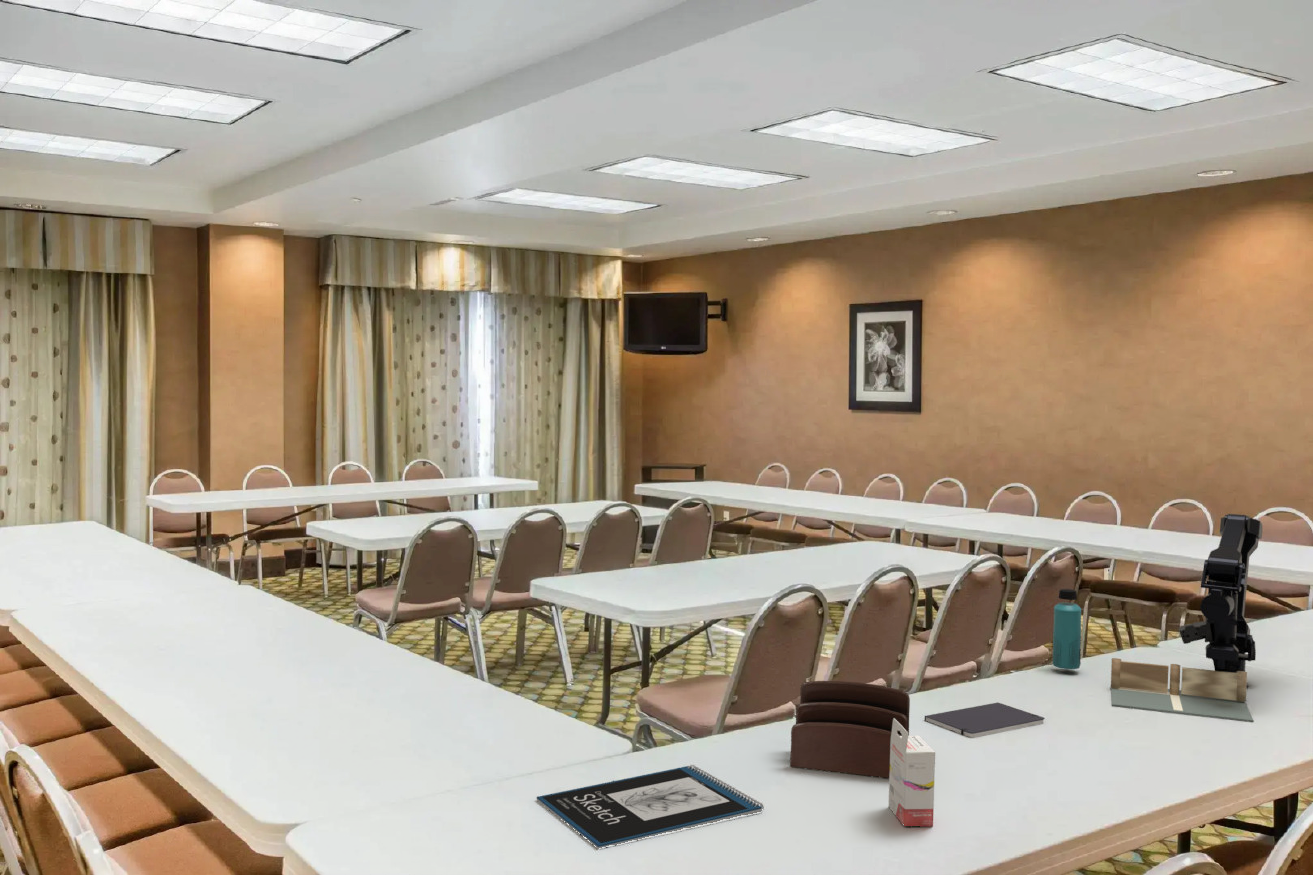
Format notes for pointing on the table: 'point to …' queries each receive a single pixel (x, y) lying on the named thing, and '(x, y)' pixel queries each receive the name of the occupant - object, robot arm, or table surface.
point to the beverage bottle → (1067, 632)
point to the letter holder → (847, 727)
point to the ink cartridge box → (911, 778)
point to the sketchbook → (648, 805)
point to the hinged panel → (1214, 684)
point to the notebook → (985, 719)
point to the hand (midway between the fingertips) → (1219, 682)
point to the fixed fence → (1145, 676)
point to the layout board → (1180, 704)
